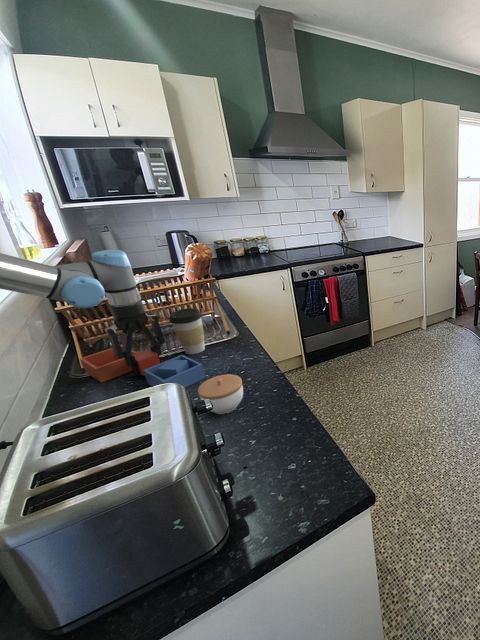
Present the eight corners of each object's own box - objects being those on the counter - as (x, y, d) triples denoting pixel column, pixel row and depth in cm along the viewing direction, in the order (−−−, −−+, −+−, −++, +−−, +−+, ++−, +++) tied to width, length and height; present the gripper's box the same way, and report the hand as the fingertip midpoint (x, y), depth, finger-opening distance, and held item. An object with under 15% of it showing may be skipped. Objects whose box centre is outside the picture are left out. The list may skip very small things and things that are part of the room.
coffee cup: (216, 344, 132) (207, 308, 126) (198, 357, 123) (187, 319, 117) (192, 342, 133) (182, 306, 126) (172, 355, 124) (160, 317, 117)
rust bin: (101, 382, 108) (95, 369, 106) (85, 372, 113) (79, 358, 111) (143, 366, 117) (138, 353, 115) (126, 357, 122) (121, 344, 120)
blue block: (162, 384, 107) (157, 369, 105) (174, 374, 112) (169, 359, 110) (180, 384, 107) (175, 369, 105) (191, 374, 112) (186, 360, 110)
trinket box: (248, 393, 105) (242, 366, 102) (244, 415, 96) (238, 387, 92) (208, 399, 102) (200, 372, 98) (200, 423, 93) (191, 394, 89)
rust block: (142, 376, 109) (137, 361, 107) (134, 370, 112) (129, 356, 110) (162, 368, 114) (157, 353, 112) (153, 363, 116) (148, 349, 114)
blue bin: (167, 395, 103) (162, 381, 101) (147, 384, 108) (142, 370, 106) (206, 377, 112) (202, 364, 110) (186, 367, 117) (182, 354, 115)
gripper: (153, 291, 112) (172, 354, 122) (80, 309, 97) (107, 378, 107) (166, 296, 109) (184, 360, 119) (92, 315, 94) (119, 386, 104)
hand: (148, 368), depth 113 cm, fingers closed on rust block, 5 cm apart
